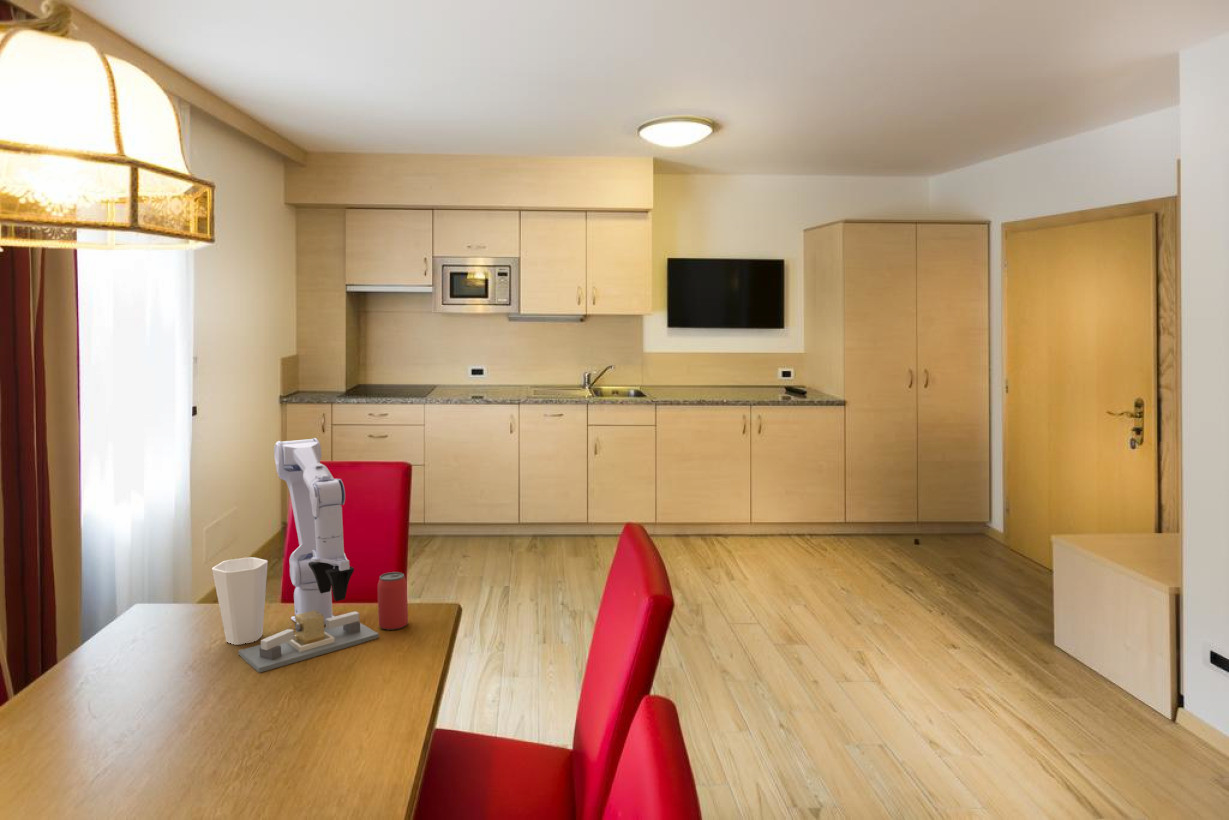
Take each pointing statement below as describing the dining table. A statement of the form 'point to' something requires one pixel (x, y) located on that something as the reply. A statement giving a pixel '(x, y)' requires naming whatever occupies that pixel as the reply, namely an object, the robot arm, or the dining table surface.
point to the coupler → (309, 627)
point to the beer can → (392, 601)
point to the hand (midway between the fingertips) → (332, 596)
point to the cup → (241, 598)
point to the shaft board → (288, 651)
